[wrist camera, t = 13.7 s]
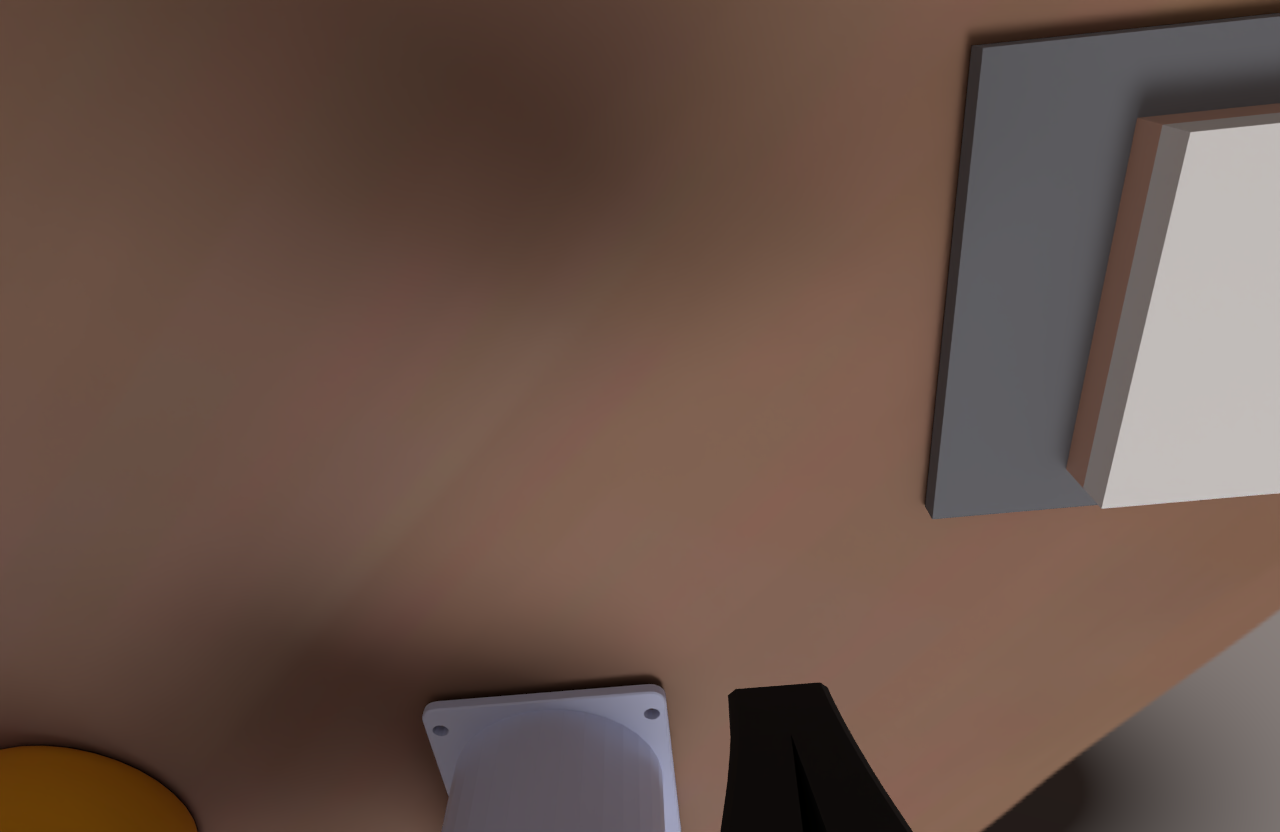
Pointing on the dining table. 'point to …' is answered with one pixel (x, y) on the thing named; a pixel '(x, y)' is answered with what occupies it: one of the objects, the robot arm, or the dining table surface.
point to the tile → (1188, 318)
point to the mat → (1054, 237)
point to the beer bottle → (82, 794)
